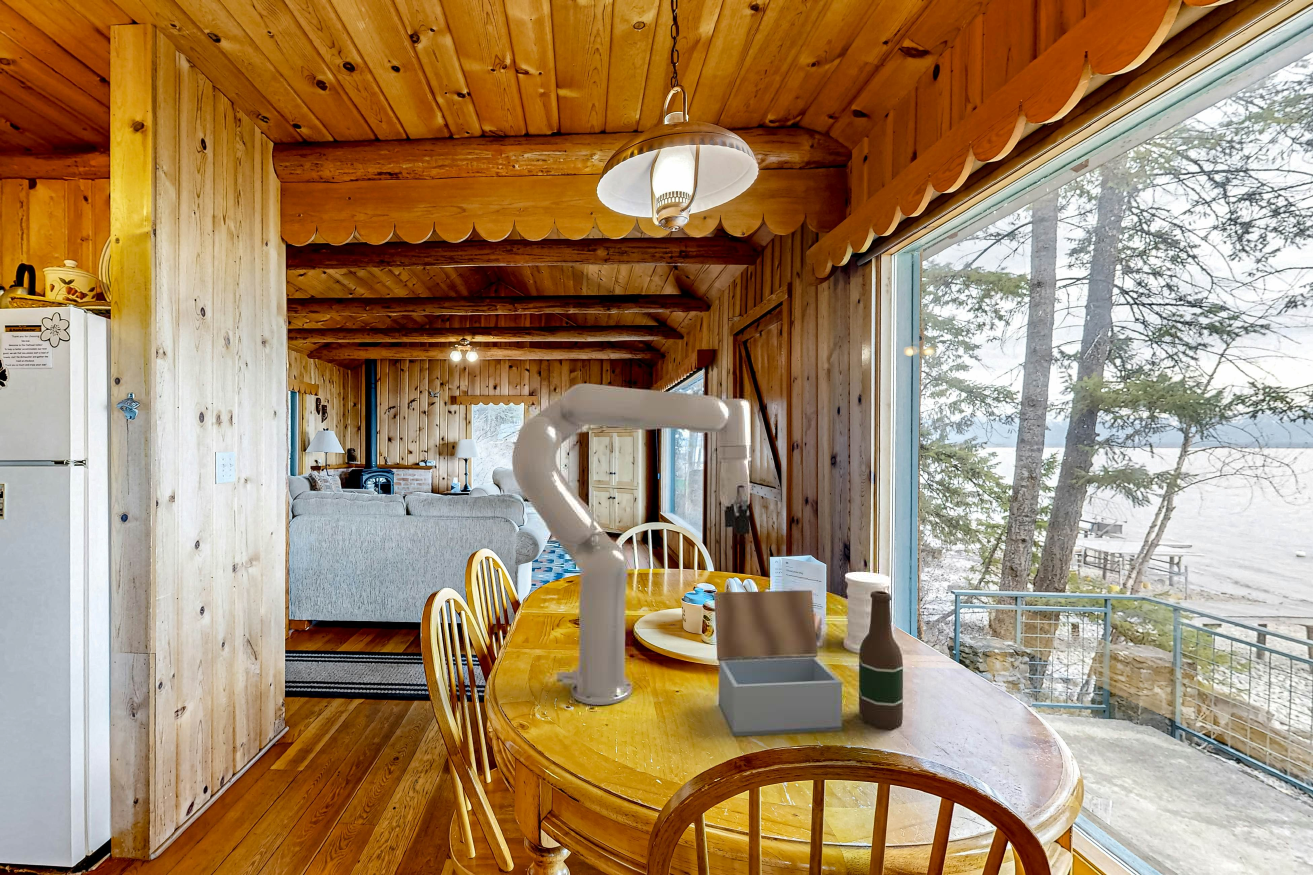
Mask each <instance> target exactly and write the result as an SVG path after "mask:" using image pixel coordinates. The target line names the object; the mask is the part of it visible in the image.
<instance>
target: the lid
mask: <svg viewBox="0 0 1313 875" xmlns="http://www.w3.org/2000/svg"><path fill="white" fill-rule="evenodd" d="M812 591H813V590H807V589H806V590H805V589H804V590H768V591H766V590H765V591H764V590H763V591H726V592H725V591H724V592H713V597H714V598H713V600H714V602H713V603H714V620H715V637H716V638H715V639H716V659H717V661H719V660H741V659H768V658H794V657H817V658H818V656H819V652H818V647H817V642H816V631H815V620H814V612H815V611H814V601H813V600H814V598H813V592H812Z"/></svg>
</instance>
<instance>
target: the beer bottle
mask: <svg viewBox="0 0 1313 875" xmlns="http://www.w3.org/2000/svg"><path fill="white" fill-rule="evenodd" d="M870 597H871V598H872V605H871V620H870V628H869V633H868V635H867V636H866V637H865V638H864V640H863V641H862V644H861V646H860V653H859V655H858V708H859V715H860V717H861V720H862V722H863V723H864V724H866V725H868V726H870V727H872V728H875V729H880V730H890V731H893V730H895V729H897V728H899V727H900V726H901V727H902V724H903V719H904V718H903V716H904V713H903V712H904V710H903V709H904V704H903V703H904V686H903V685H904V666H903V665H904V664H903V654H902V652H901V649H900V646H899V644H897V642H896V640H895V638H894V636H893V630H892V617H891V614H892V613H891V601H892V596H891V594H890V593H889V592H888V593H887V592H884V591H874V592H871V595H870Z"/></svg>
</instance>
